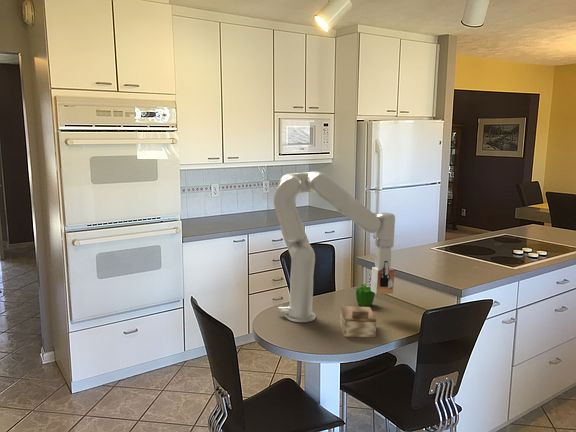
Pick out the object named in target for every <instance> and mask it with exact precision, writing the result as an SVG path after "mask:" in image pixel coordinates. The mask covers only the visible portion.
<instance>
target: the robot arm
mask: <svg viewBox="0 0 576 432" xmlns="http://www.w3.org/2000/svg"><path fill="white" fill-rule="evenodd" d="M275 190H276V191H275V192H274V196H273V206H274V210H275V214H276V217H277V219H278V222H279V225H280V232H281V234H282V236H283V240H284V242H285V246H286V247H287V250H288V252H289V255H290V260H291V261H290V262H291V263H290V280H289V281H290V282H289V283H290V284H289V287H290V288H289V304H288V306H278V312H281V314H285V319H287V320H288V321H291V322H295V323H309V322H312V321H314V320H316V317H317V316H316V314H315V312H313V297H314V295H313V294H314V272H315V263H316V253H315V251H314V248H313V247H312V245H311V244H310V241H309V239H308V236H307V234H306V229H305V228H306V227H305V225H304V223H303V222H302V218H301V217H300V214H299V210H298V208H297V205H296V198H297V196H298V195H299V194H302V193H303V194H304V193H314V194H315V195H317V196H318V197H319V198H321V200H323V201H324V202H326V203H327V204H328V205H329V206H330V207H332V209H334V210H336V211H337V212H338V213H340V214H342V215H344V216H345V217H347V218H348V219H349V220H351V221H352V222H354V223H355V224H356V225H357V226H358V227H359V228H360V229H362V230H363V231H364V232H366V233H369V234H375V240H374V241H375V242H374V243H375V244H374V246H375V247H376V248H375V258H374V267H376V268H377V269H378V270H379V271H380V270H381V278H380V286H381V287H388V277H389V275H388V274H389V273H388V272H389V270H390V267H391V268H392V248H394V243H395V226H396V216H395V214H394V213H392V212H372V211H371V210H369V208H367V207H366V206H365V205H363V204H362V203H361V202H359V200H357V199H356V198H355V197H354V196H353V195H352V194H350V193H349V192H348V191H347V190H345V189H344V188H343V187H342V186H341V185H339V184H338V183H337V182H335V181H334V180H333V179H331V178H330V177H329V176H328V175H327V174H325V173H324V172H320V171H308V172H306V171H305V172H295V173H287V174H286V173H285V174H284V175H283V176H282V177H280V180H279V185H278V186H277V188H276V189H275ZM383 269H385V270H383ZM383 272H384V273H383Z"/></svg>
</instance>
